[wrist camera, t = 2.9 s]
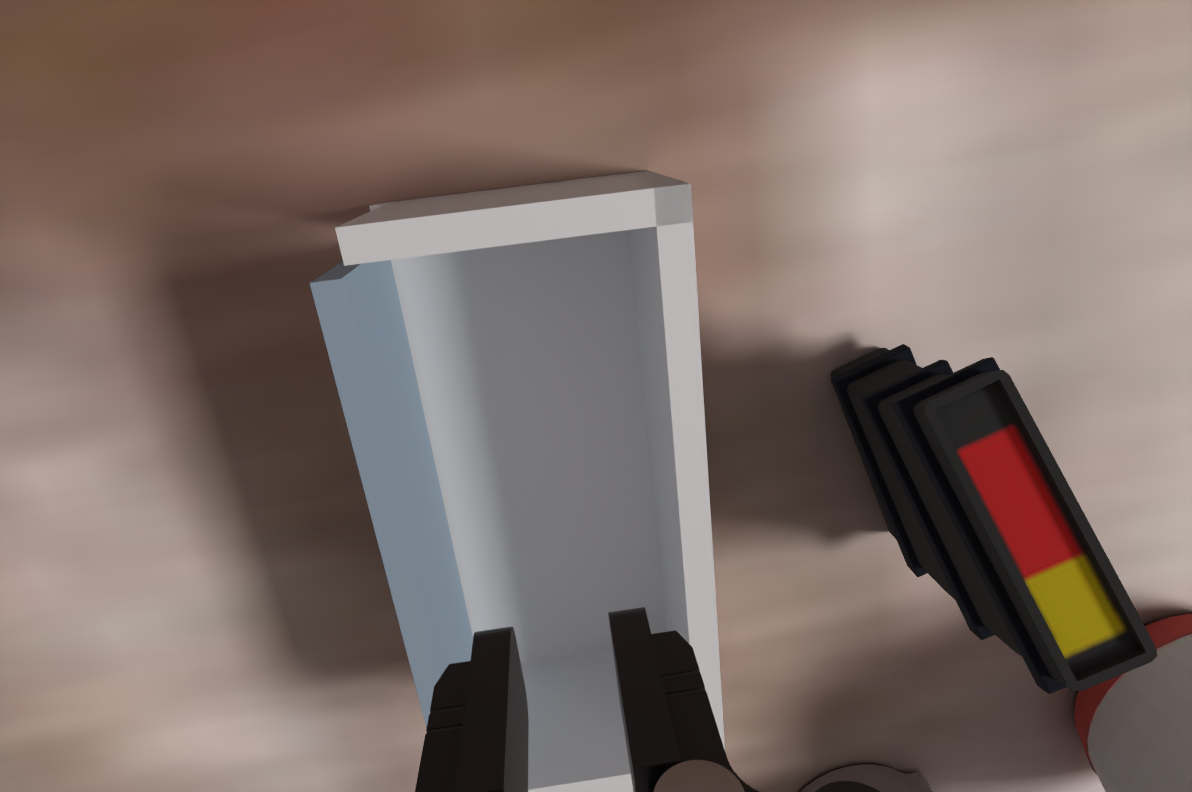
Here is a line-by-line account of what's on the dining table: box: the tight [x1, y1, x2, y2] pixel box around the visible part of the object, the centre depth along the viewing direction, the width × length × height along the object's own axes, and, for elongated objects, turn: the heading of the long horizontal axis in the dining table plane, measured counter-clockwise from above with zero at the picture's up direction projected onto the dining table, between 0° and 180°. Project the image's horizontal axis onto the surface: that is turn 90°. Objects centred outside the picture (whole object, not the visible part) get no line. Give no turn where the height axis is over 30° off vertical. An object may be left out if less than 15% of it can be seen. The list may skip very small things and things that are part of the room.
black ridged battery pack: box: [831, 344, 1157, 694], centre depth 31 cm, size 4×13×15 cm, turn 26°
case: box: [335, 170, 725, 792], centre depth 31 cm, size 12×26×9 cm, turn 6°
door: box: [310, 260, 473, 728], centre depth 30 cm, size 2×23×8 cm, turn 7°
